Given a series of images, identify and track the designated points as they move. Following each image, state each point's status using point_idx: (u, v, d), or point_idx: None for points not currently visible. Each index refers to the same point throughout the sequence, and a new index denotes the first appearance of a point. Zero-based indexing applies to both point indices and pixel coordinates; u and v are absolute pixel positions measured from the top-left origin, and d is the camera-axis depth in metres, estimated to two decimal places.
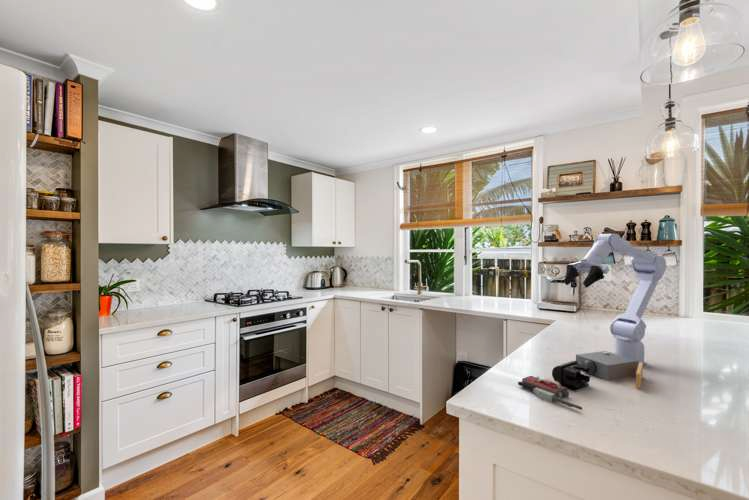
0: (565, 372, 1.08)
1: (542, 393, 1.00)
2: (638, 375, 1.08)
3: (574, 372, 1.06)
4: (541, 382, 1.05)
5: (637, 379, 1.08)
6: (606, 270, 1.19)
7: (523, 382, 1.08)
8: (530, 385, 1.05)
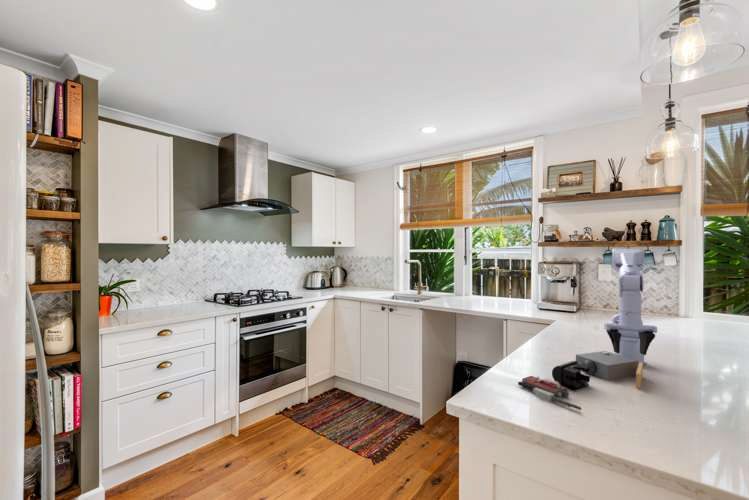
0: (565, 372, 1.08)
1: (541, 393, 1.00)
2: (638, 375, 1.08)
3: (574, 372, 1.06)
4: (541, 382, 1.05)
5: (637, 379, 1.08)
6: None
7: (523, 382, 1.08)
8: (530, 385, 1.06)
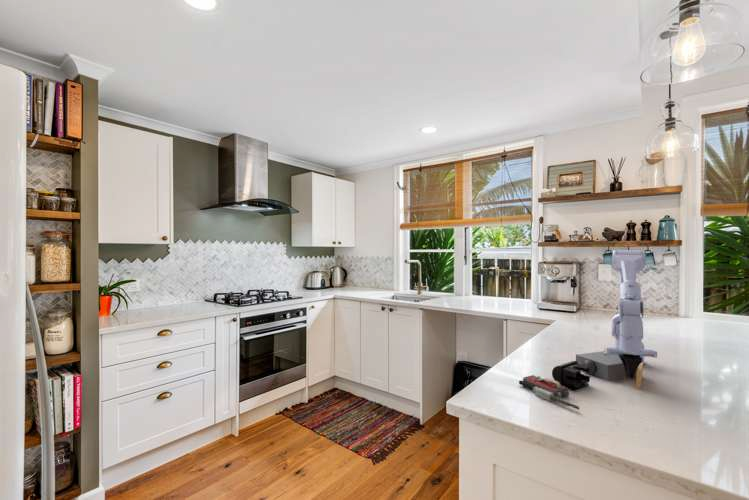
0: (565, 372, 1.08)
1: (541, 392, 1.01)
2: (638, 375, 1.08)
3: (574, 372, 1.06)
4: (541, 381, 1.06)
5: (637, 379, 1.08)
6: None
7: (524, 381, 1.08)
8: (530, 384, 1.06)
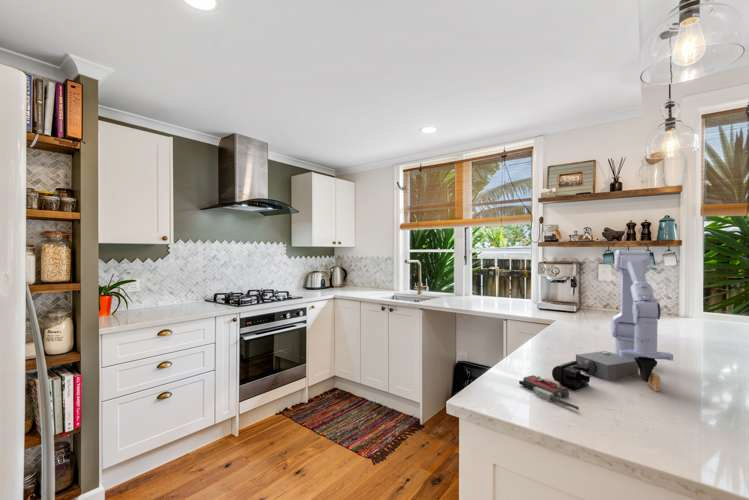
0: (565, 372, 1.08)
1: (541, 392, 1.01)
2: (658, 378, 1.05)
3: (574, 372, 1.06)
4: (542, 382, 1.06)
5: (657, 382, 1.05)
6: None
7: (524, 381, 1.08)
8: (530, 384, 1.06)
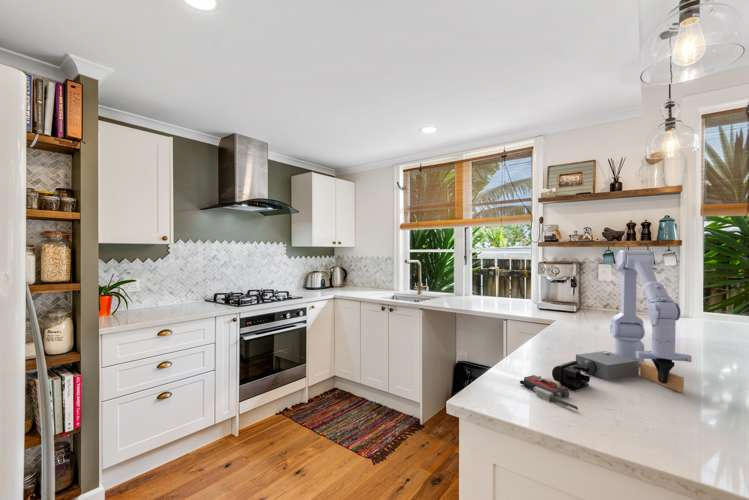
0: (565, 372, 1.08)
1: (540, 392, 1.01)
2: (682, 379, 1.05)
3: (574, 372, 1.06)
4: (542, 381, 1.06)
5: (681, 383, 1.05)
6: None
7: (524, 381, 1.09)
8: (531, 384, 1.07)
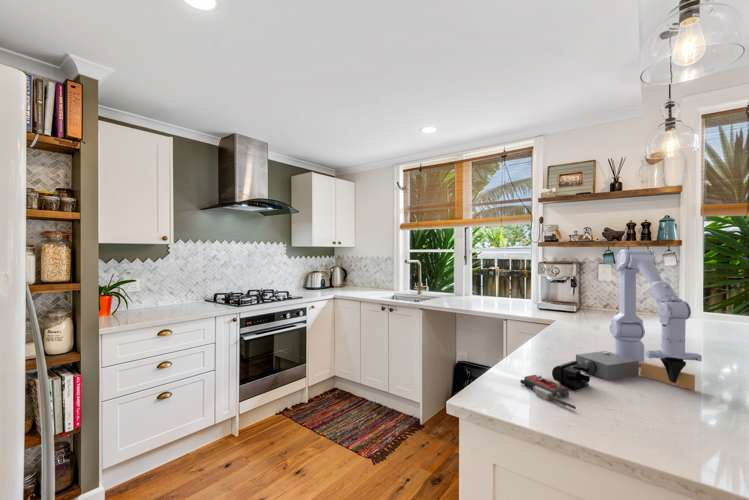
0: (565, 372, 1.08)
1: (540, 391, 1.01)
2: (694, 377, 1.07)
3: (574, 372, 1.06)
4: (542, 381, 1.06)
5: (694, 381, 1.07)
6: None
7: (525, 380, 1.09)
8: (531, 383, 1.07)
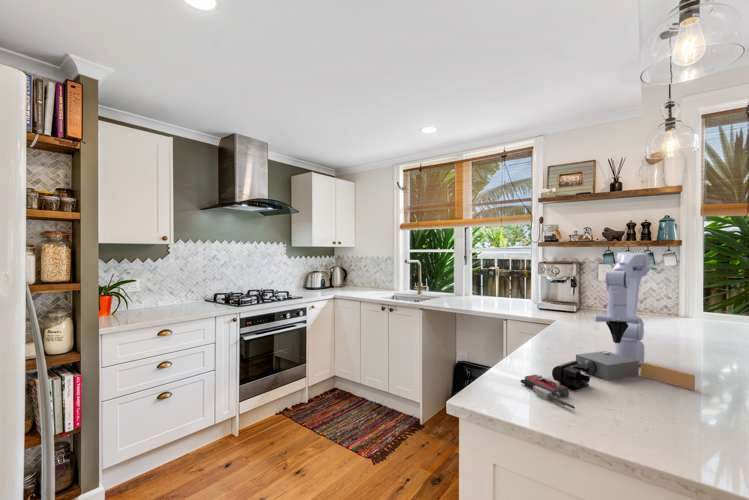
0: (565, 372, 1.08)
1: (539, 391, 1.02)
2: (694, 376, 1.07)
3: (574, 372, 1.06)
4: (542, 381, 1.06)
5: (694, 381, 1.07)
6: None
7: (525, 380, 1.09)
8: (531, 383, 1.07)
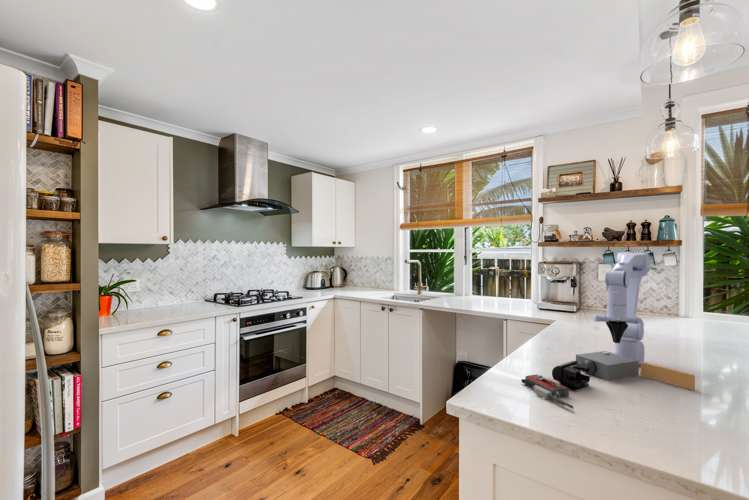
0: (565, 372, 1.08)
1: (539, 390, 1.02)
2: (694, 376, 1.07)
3: (574, 372, 1.06)
4: (543, 381, 1.07)
5: (694, 381, 1.07)
6: None
7: (526, 379, 1.10)
8: (531, 383, 1.08)
